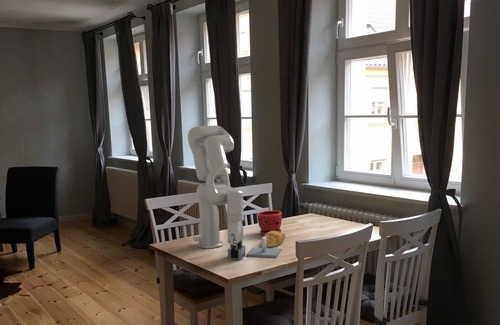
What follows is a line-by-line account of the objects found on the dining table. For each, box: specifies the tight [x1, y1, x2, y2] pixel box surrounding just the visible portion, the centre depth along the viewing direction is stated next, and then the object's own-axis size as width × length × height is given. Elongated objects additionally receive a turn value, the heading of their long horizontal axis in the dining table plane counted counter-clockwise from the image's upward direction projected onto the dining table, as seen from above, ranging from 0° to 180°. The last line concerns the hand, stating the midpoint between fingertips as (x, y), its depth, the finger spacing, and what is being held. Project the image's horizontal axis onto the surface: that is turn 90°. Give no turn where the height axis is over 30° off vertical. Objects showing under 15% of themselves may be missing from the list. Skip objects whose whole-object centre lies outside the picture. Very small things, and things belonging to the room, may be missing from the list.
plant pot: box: [256, 210, 283, 236], centre depth 247 cm, size 13×13×12 cm
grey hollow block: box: [227, 245, 246, 261], centre depth 208 cm, size 6×6×4 cm
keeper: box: [245, 236, 282, 259], centre depth 212 cm, size 14×11×8 cm
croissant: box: [259, 231, 286, 248], centre depth 228 cm, size 21×10×8 cm, turn 145°
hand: (236, 255), depth 208 cm, fingers closed on grey hollow block, 6 cm apart
